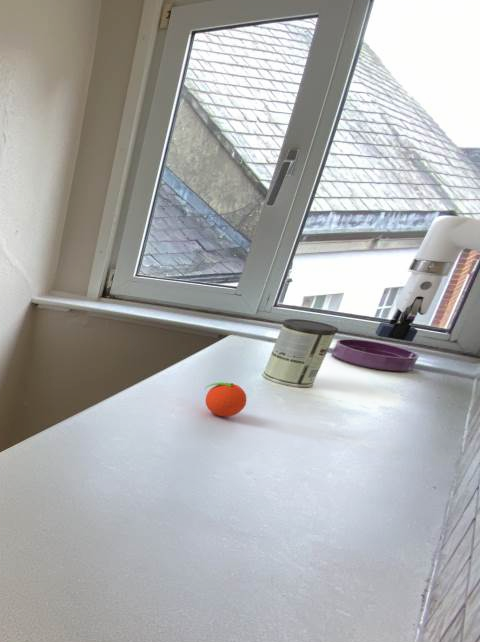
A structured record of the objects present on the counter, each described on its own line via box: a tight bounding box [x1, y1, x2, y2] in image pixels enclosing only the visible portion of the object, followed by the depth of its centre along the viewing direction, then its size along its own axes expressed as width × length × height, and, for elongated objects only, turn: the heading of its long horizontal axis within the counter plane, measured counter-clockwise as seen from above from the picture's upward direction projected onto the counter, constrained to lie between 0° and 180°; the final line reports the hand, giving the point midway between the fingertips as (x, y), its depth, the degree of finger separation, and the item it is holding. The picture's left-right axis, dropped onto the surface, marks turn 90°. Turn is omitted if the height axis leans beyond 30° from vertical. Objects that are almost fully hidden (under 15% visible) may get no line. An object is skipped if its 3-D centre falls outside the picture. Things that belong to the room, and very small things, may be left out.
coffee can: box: [262, 318, 339, 388], centre depth 133 cm, size 10×10×14 cm
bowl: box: [330, 338, 420, 372], centre depth 152 cm, size 17×17×4 cm
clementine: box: [205, 382, 248, 418], centre depth 113 cm, size 8×7×7 cm
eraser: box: [375, 322, 419, 343], centre depth 148 cm, size 7×4×3 cm, turn 55°
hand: (394, 335), depth 148 cm, fingers closed on eraser, 4 cm apart
